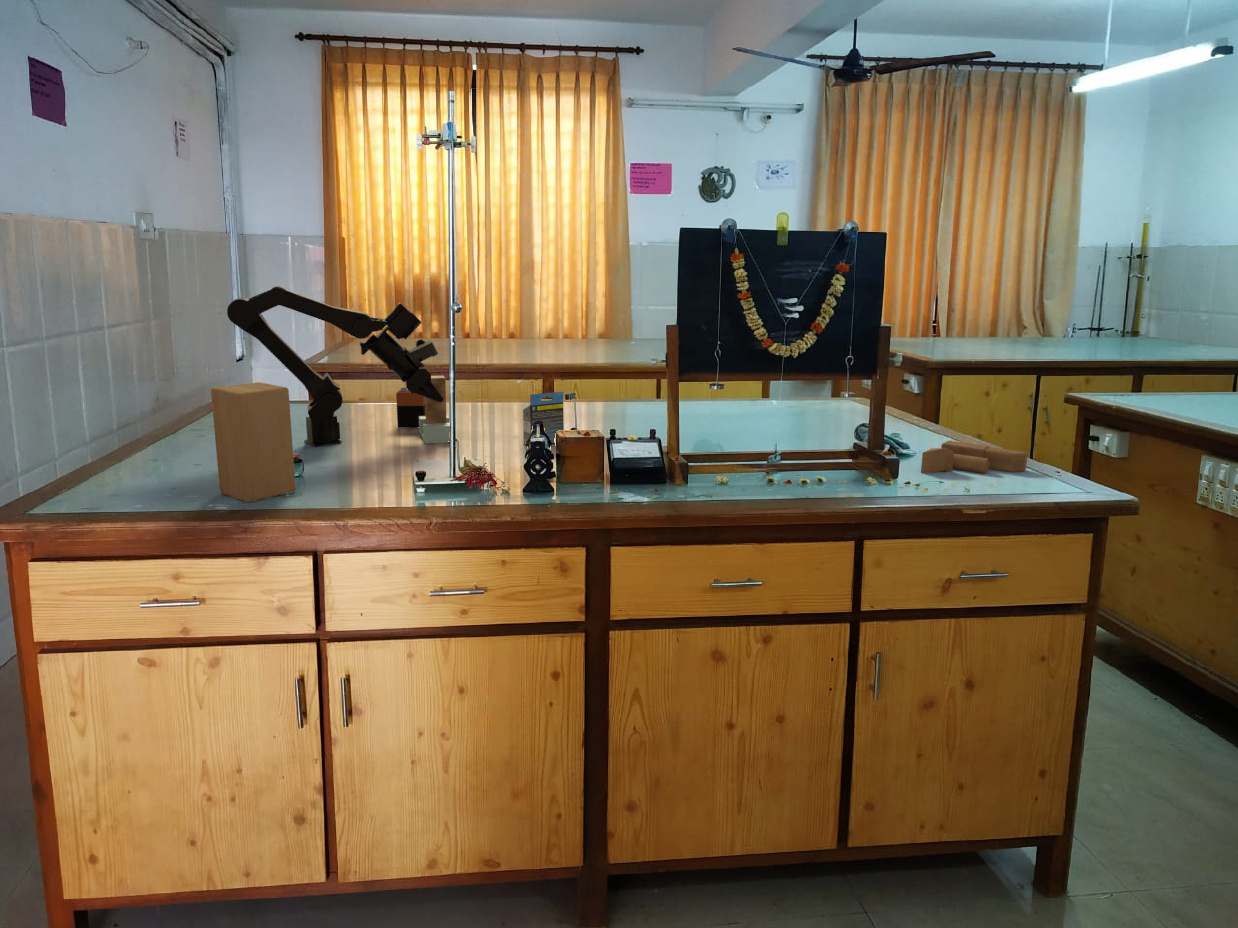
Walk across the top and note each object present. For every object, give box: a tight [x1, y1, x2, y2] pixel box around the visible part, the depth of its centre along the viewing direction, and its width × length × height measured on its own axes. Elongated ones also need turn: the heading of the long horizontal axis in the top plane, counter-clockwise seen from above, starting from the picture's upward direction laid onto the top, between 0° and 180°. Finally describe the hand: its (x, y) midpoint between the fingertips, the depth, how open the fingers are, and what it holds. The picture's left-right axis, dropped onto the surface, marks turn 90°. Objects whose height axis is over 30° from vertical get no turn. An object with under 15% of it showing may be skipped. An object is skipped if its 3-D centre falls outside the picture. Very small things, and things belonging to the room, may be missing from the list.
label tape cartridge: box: [522, 391, 565, 445], centre depth 221 cm, size 9×4×12 cm, turn 123°
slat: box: [425, 375, 447, 424], centre depth 226 cm, size 4×4×12 cm
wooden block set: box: [920, 440, 1029, 474], centre depth 200 cm, size 17×6×18 cm
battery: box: [395, 387, 426, 428], centre depth 240 cm, size 4×7×10 cm, turn 94°
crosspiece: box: [418, 414, 451, 445], centre depth 228 cm, size 14×7×4 cm, turn 17°
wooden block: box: [210, 381, 296, 503], centre depth 175 cm, size 10×10×20 cm
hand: (441, 399), depth 226 cm, fingers closed on slat, 4 cm apart
